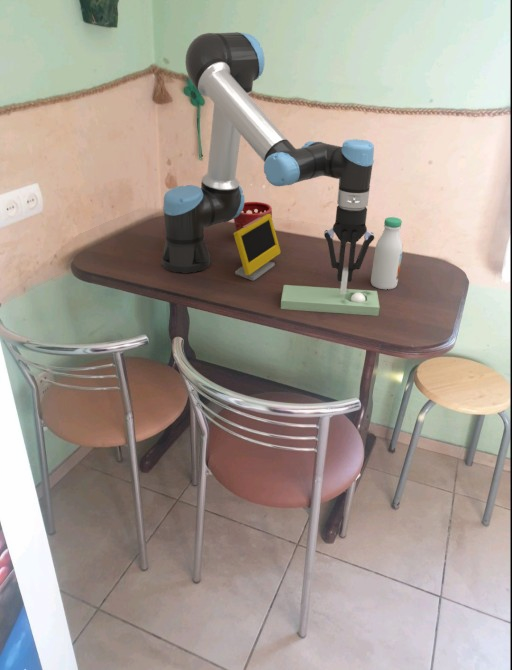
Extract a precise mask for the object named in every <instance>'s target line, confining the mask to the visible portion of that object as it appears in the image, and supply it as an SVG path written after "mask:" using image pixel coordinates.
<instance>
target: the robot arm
mask: <svg viewBox="0 0 512 670" xmlns="http://www.w3.org/2000/svg"><path fill="white" fill-rule="evenodd" d="M264 54H265V53H264V51H263V47H261V44H260V42H259V40H258V39H257V38H256V37H255V36H253V35H252V34H250V33H244V32H239V31H235V32H216V33H215V32H207V33H203V34H200V35H198V36H197V37H196V38H194V39H193V40H192V41H191V42H190V44H189V46H188V47H187V50H186V54H185V60H184V61H185V70H186V73H187V76H188V78H189V81H190V82H191V84H192V85H193V87H194V88H195V89H196V90H197V92H199V94H200V95H202V96H203V97H207V98H209V100H211V102H213V113H212V122H211V131H210V132H211V133H210V143H209V153H208V164H207V173H206V174H204V175H203V176H202V178H201V186H200V187H199V186H197V185H192V184H191V185H190V184H189V185H187V184H186V185H180V186H176V187H173V188H171V189H169V190H168V191H166V193H165V194H164V196H163V207H162V209H163V213H164V214H163V215H164V216H163V217H164V227H165V229H164V230H165V245H164V248H163V251H162V256H161V265H163V266H162V267H163V268H164V269H165V270H166V269H168V270H167V271H169V270H170V271H169V272H172V271H175V272H174V273H176V272H182V273H181V274H191V273H190V272H193V273H197V271H198V272H201V271H205V270H206V269H207V268H209V267H210V265H211V255H210V252H209V250H208V247H207V245H206V242H205V234H204V233H205V228H208V227H212V226H215V225H217V224H222V223H227V222H229V221H231V220H234V218H236V217H238V216H239V215H240V213H241V212H242V213H243V211H242V210H243V207H244V203H245V202H246V201H245V195H244V194H243V193H244V190H243V189H242V187H241V185H240V181H239V179H237V178H236V175H237V165H238V159H239V152H240V151H239V150H240V142H241V136H242V137H243V139H244V140H245V141H246V142H247V144H248V145H249V146H250V147H251V148H252V149H253V151H255V153H256V154H257V156H259V157H260V159H261V160H262V162H264V164H263V172H264V174H265V178H266V180H267V182H268V183H269V184H271V185H272V186H275V187H284V186H285V187H286V186H292V185H293V184H296V183H300V182H303V181H307V180H312V179H316V178H318V177H329V178H332V179H336V180H338V190H337V191H338V192H337V206H336V211H335V212H336V213H335V222H334V224H333V226H332V228H330V229H329V230H327V229H325V230H324V233H323V236H324V238H325V240H326V242H327V245H328V253H329V257H330V264H331V268H332V269H336V270H337V275H336V276H337V277H336V279H337V281H338V282H340V288H339V289H340V294H346V289H348V287H347V286H348V283H349V282H350V283H351V282H352V280H353V272H354V271H355V270H360V269H361V267H362V265H363V262H364V260H365V257H366V254H367V252H368V249H369V247H370V244H372V242H373V241H374V240H375V234H374V232H371V231H369V230H368V228H367V225H366V224H367V223H366V220H367V214H368V213H367V212H368V208H367V207H368V204H369V198H370V197H369V196H370V187H371V179H372V172H373V166H374V161H375V160H374V151H375V147H374V144H373V142H371V141H368V140H365V139H357V138H356V139H354V138H353V139H347V140H345V141H344V142H343V143H342V146H339V145H334V144H331V143H325V142H323V141H314V140H311V141H308V142H306V143H304V145H302V146H301V147H300V148H295V146H294V145H293V144H292V143H291V142H290V141H289V140H288V139H287V137H286V136H285V135H284V134H283V132H281V130H280V129H279V128H278V127H277V126H276V124H275V123H274V122H273V121H272V120H271V119H270V118H269V117H268V116H267V114H266V113H265V112H264V111H263V110H262V109H261V108H260V107H259V106H258V104H257V103H256V102H255V101H254V99H253V98H252V97H251V96H250V94H251V93H252V91H253V86H254V85H253V84H254V81H256V80H258V79H259V77H260V76H262V74H263V72H264V69H265V55H264ZM334 235H335V236H336V237H337V238H338V240H339V241H340V246H339V256H338V261H337V258H336V251H335V245H334V239H333V238H334ZM363 236H364V237H363ZM362 237H363V242H362V246H361V248H360V251H359V253H358V255H357V258H356V261H355V257H356V256H355V255H356V248H357V242H359V241H360V239H362ZM347 243H349V244H350V246H349V253H348V254H349V255H348V264H347V267H344V263H345V253H346V245H347ZM188 272H189V273H188Z"/></svg>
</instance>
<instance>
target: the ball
mask: <svg viewBox="0 0 512 670" xmlns="http://www.w3.org/2000/svg"><path fill="white" fill-rule="evenodd" d="M350 302H357V303H362V302H365V296H364V295H363V294H362V293H355V294H353V295H352V296H351V300H350Z"/></svg>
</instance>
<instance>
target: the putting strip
mask: <svg viewBox="0 0 512 670" xmlns="http://www.w3.org/2000/svg"><path fill="white" fill-rule="evenodd" d="M355 293H362V294H363V295H364V296H365V302H362V303H357V302H351V296H352V295H353V294H355ZM380 308H381V307H380V300H379V295H378V291H377V290H368V289H353V288H346V294H340V288H337V287H336V288H335V287H325V286H324V287H322V286H309V285H308V286H306V285H290V284H283V289H282V294H281V300H280V309H281V310H290V311H291V310H292V311H306V312H319V313H334V314H345V315H347V314H348V315H362V316H363V315H364V316H374V317H375V316H376V317H378V316H379V314H380Z"/></svg>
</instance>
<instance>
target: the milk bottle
mask: <svg viewBox="0 0 512 670" xmlns="http://www.w3.org/2000/svg"><path fill="white" fill-rule="evenodd" d="M402 223H403V222H402V219H401V218H398V217H395V216H392V217H386V218H385V219H384V225H383V227H384V229H383V231H382V234H381V235H380V237H379V238H378V240H377V241H376V242H377V243H376V245H375V249H374V255H373V262H372V270H371V276H370V283H371V286H373V287H374V288H376V289H379V290H386V291H388V290H393V289H395V288H396V287H397V285H398V282H399V276H400V275H399V274H400V271H401V270H400V269H401V263H402V257H403V249H404V248H403V240H402V238H401V233H400V230H401V226H402ZM387 289H388V290H387Z"/></svg>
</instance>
